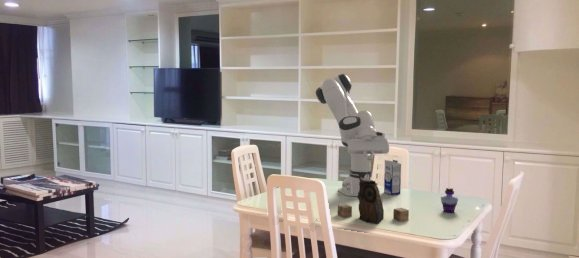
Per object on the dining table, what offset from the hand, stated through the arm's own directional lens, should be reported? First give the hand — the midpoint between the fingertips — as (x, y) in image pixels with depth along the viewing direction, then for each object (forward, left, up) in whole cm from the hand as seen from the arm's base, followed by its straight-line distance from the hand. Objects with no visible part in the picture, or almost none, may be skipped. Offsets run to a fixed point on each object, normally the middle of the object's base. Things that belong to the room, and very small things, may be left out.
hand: (369, 159), depth 222 cm
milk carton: (-31, +42, -28) cm, 60 cm away
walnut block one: (-6, -10, -28) cm, 30 cm away
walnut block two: (+12, +10, -28) cm, 32 cm away
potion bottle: (+13, +41, -28) cm, 52 cm away
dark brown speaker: (+6, -2, -28) cm, 29 cm away
